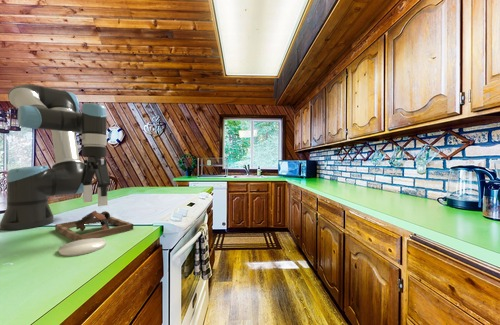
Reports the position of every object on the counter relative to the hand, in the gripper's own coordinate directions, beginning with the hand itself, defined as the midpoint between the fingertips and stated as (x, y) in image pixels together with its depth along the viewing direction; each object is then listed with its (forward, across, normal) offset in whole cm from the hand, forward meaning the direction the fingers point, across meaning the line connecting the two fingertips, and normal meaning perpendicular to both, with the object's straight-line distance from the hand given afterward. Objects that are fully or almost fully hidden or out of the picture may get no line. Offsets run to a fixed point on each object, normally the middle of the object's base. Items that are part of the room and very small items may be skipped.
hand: (94, 203), depth 83 cm
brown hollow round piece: (+10, 0, 0) cm, 10 cm away
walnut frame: (+10, -1, 0) cm, 10 cm away
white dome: (+10, +17, -9) cm, 22 cm away
